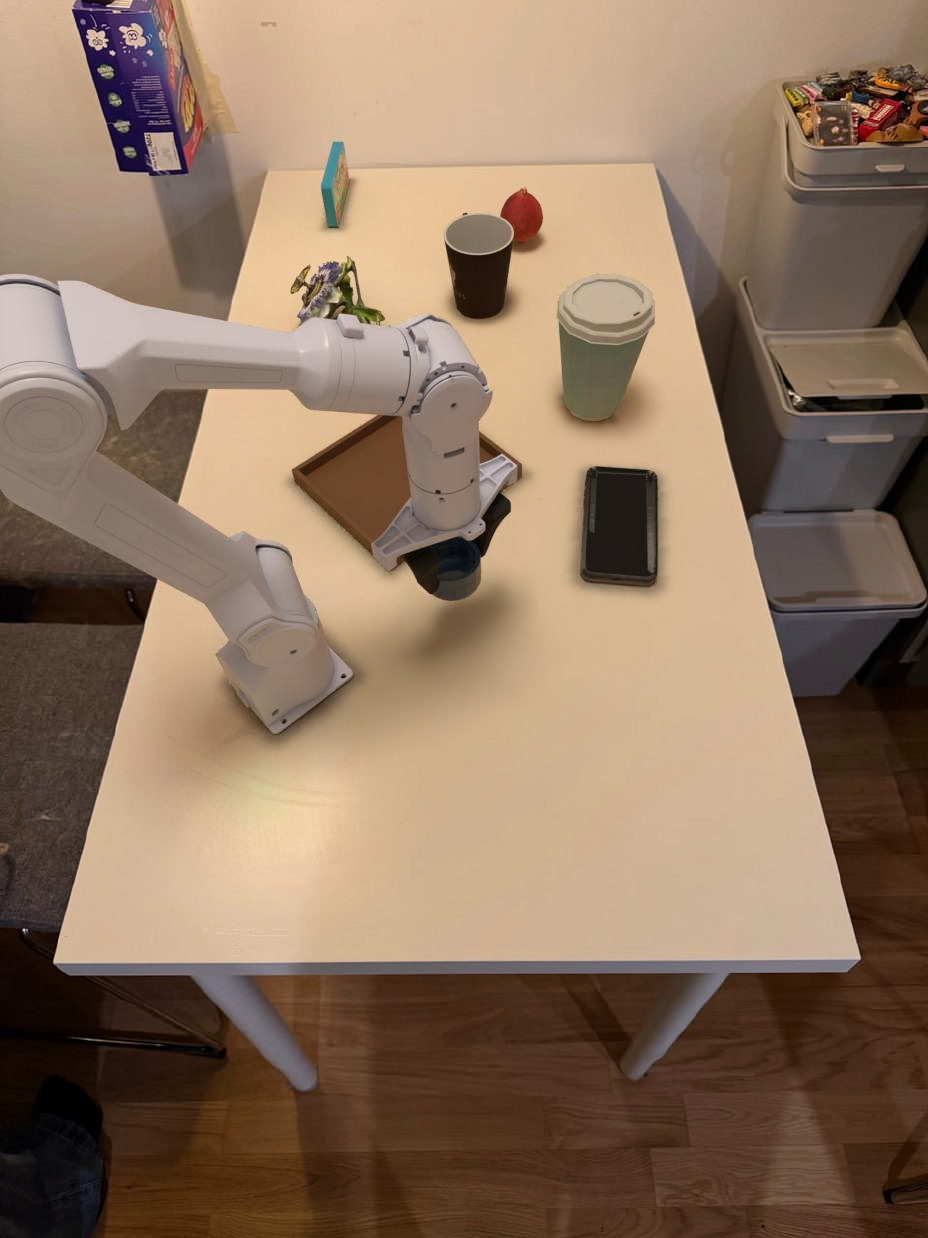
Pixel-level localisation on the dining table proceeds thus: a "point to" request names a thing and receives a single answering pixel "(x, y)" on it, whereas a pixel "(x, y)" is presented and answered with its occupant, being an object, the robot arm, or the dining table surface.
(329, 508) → the tray
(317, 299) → the passion flower
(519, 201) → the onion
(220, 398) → the dining table surface
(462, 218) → the coffee mug
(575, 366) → the disposable coffee cup
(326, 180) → the teal picture box
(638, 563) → the phone
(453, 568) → the dish
